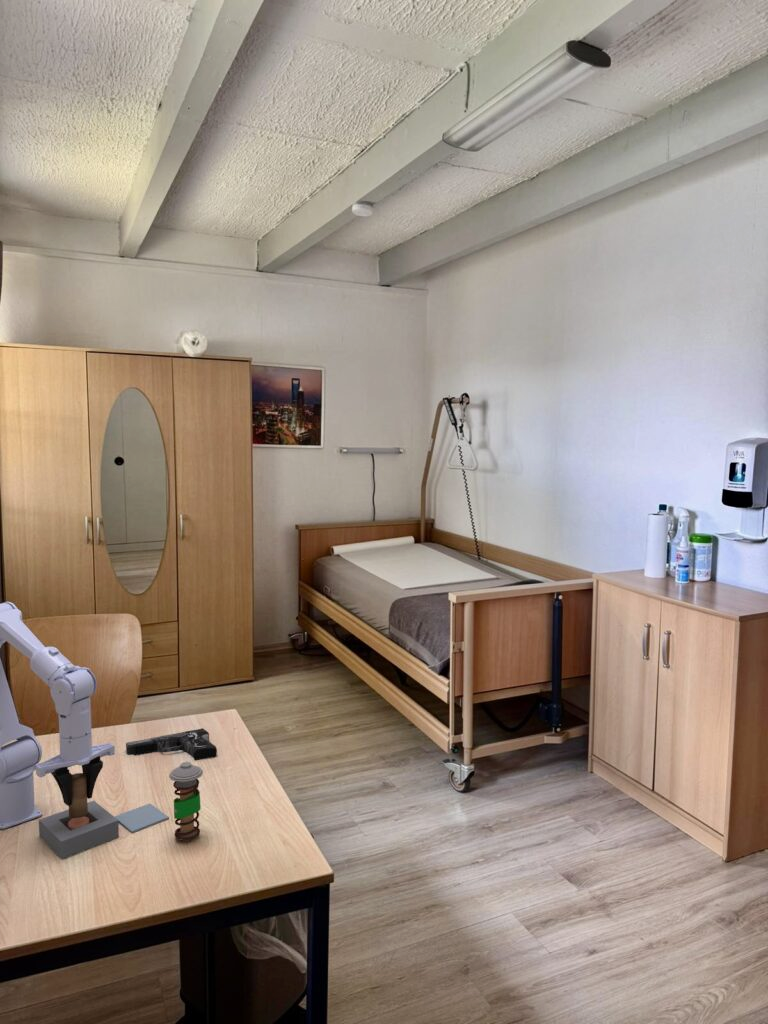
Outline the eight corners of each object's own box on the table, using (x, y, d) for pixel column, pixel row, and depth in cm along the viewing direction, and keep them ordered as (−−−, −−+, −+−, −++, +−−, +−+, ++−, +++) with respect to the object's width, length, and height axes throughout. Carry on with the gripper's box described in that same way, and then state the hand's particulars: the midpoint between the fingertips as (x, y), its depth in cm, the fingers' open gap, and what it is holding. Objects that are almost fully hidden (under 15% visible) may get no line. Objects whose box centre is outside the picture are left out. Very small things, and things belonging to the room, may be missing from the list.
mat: (113, 818, 151) (113, 816, 151) (150, 805, 157) (149, 803, 157) (132, 833, 146) (132, 831, 146) (168, 818, 151) (168, 816, 151)
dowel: (66, 813, 144) (65, 776, 143) (84, 807, 146) (82, 771, 145) (72, 820, 141) (71, 782, 141) (90, 814, 144) (89, 777, 143)
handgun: (132, 761, 172) (125, 738, 184) (133, 775, 172) (125, 751, 185) (217, 745, 181) (205, 724, 193) (218, 758, 181) (205, 737, 194)
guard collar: (39, 836, 144) (38, 819, 144) (94, 816, 152) (93, 800, 152) (62, 859, 136) (61, 841, 136) (118, 837, 144) (118, 820, 144)
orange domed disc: (65, 827, 144) (64, 821, 144) (84, 820, 147) (84, 814, 146) (73, 834, 141) (72, 828, 141) (92, 827, 144) (92, 821, 144)
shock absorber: (169, 832, 146) (167, 759, 145) (201, 826, 148) (200, 755, 147) (172, 849, 140) (170, 773, 139) (206, 842, 142) (204, 768, 141)
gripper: (44, 750, 134) (47, 821, 135) (120, 728, 144) (122, 794, 146) (30, 738, 139) (33, 807, 140) (104, 718, 149) (107, 782, 151)
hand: (77, 800), depth 143 cm, fingers closed on dowel, 3 cm apart
